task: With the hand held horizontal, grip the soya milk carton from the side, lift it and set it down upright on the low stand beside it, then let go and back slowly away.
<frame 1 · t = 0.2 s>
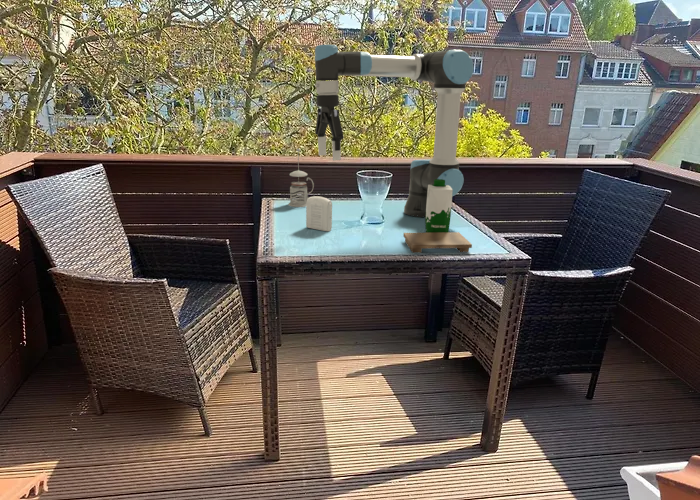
hand: (329, 157, 173), 27 cm above the table, tool pointing down, fingers open, 13 cm apart
photo printer: (319, 229, 186), on the table
french press: (300, 204, 223), on the table
stand: (435, 246, 169), on the table
soya milk: (436, 235, 182), on the table
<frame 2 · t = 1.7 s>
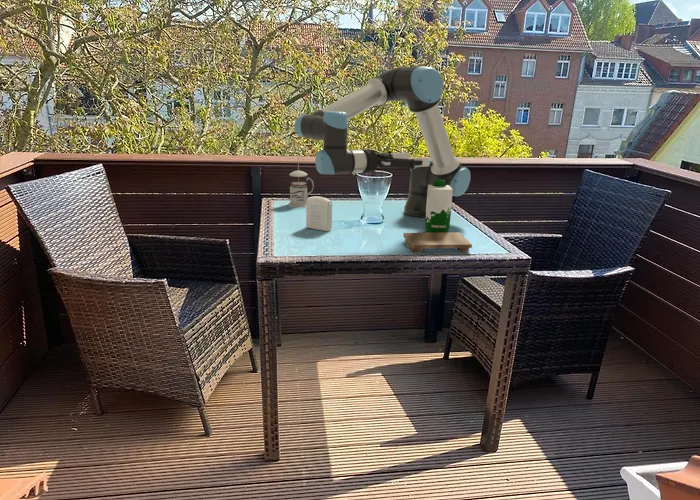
hand: (418, 159, 169), 28 cm above the table, tool horizontal, fingers open, 13 cm apart
nothing on the table moved.
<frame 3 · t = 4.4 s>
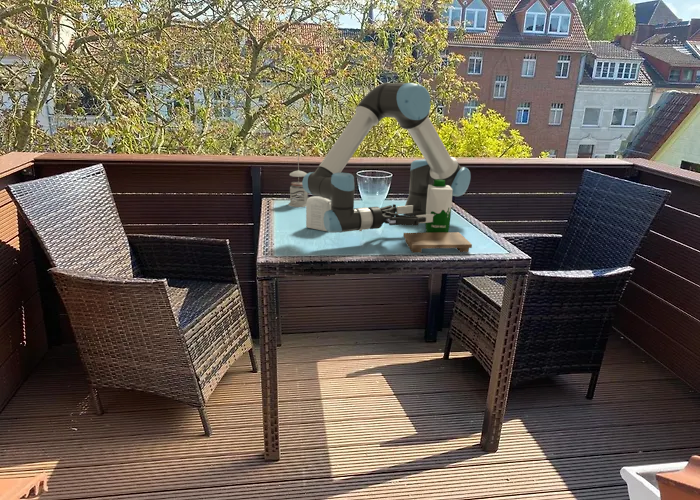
hand: (422, 213, 176), 9 cm above the table, tool horizontal, fingers open, 13 cm apart
nothing on the table moved.
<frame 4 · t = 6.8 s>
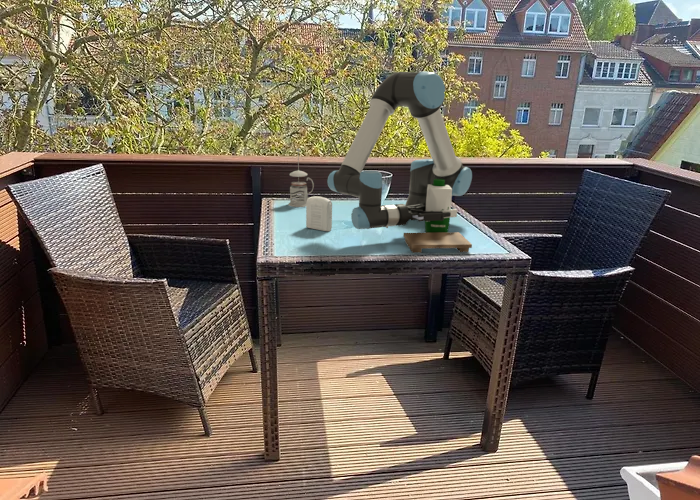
hand: (449, 210, 181), 9 cm above the table, tool horizontal, fingers closed on soya milk, 8 cm apart
soya milk: (435, 235, 183), on the table, touching gripper
everything else where it was.
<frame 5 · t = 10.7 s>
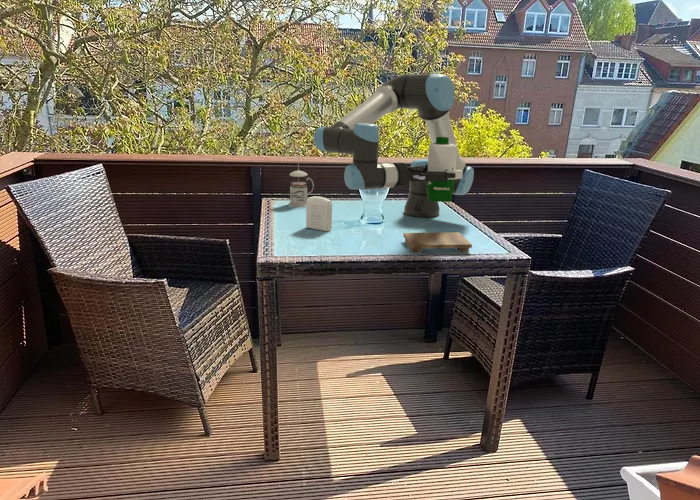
hand: (453, 172, 162), 25 cm above the table, tool horizontal, fingers closed on soya milk, 8 cm apart
soya milk: (438, 200, 164), point 16 cm above the table, touching gripper
everything else where it was.
when the fingers open (12 cm above the table, at t = 14.7 s): soya milk stays where it is, resting on stand.
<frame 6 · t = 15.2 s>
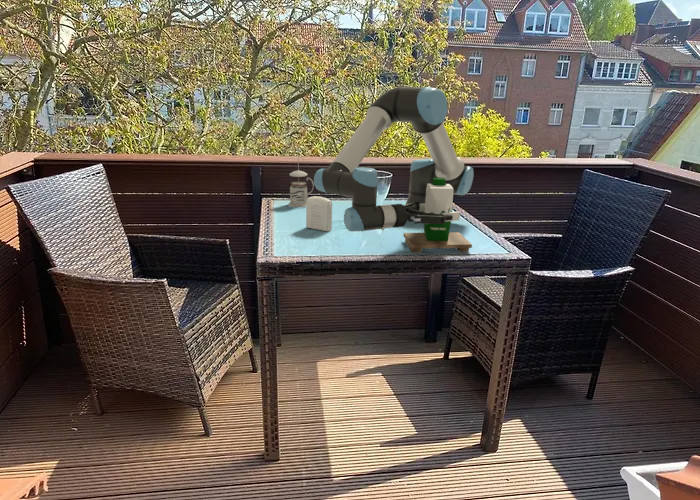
hand: (447, 211, 166), 12 cm above the table, tool horizontal, fingers open, 13 cm apart
soya milk: (435, 238, 168), point 3 cm above the table, touching stand
everything else where it was.
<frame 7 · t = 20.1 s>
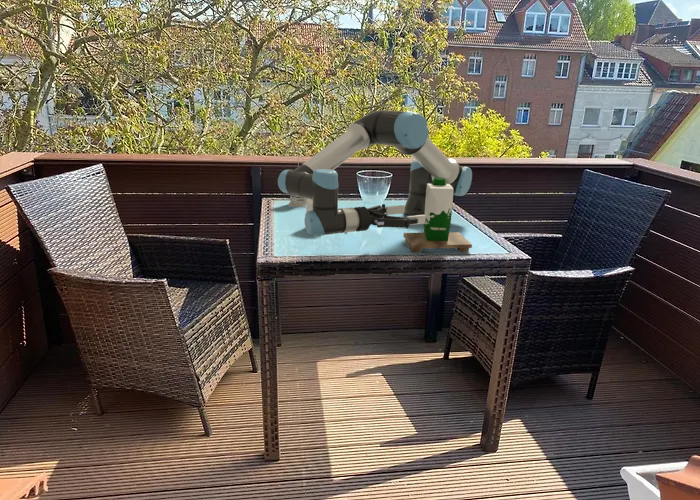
hand: (413, 214, 161), 12 cm above the table, tool horizontal, fingers open, 13 cm apart
nothing on the table moved.
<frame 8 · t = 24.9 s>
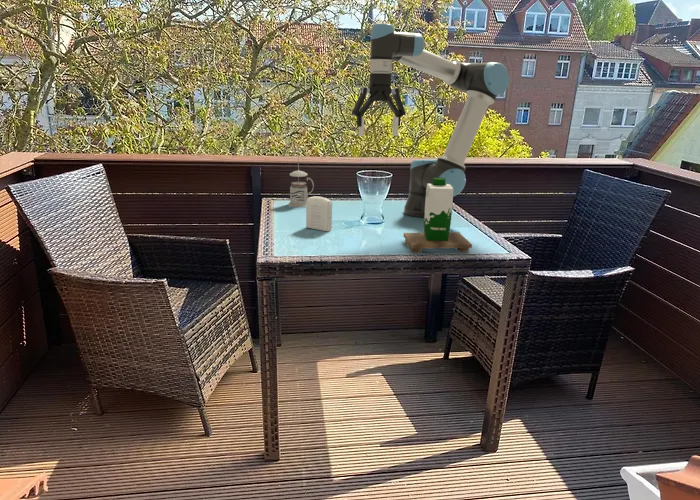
hand: (378, 135, 177), 35 cm above the table, tool pointing down, fingers open, 13 cm apart
nothing on the table moved.
at the end: soya milk inside the target area on the stand (0.6 cm from its centre), point 2.8 cm above the stand's base; soya milk tilted 0°; the gripper is holding nothing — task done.
